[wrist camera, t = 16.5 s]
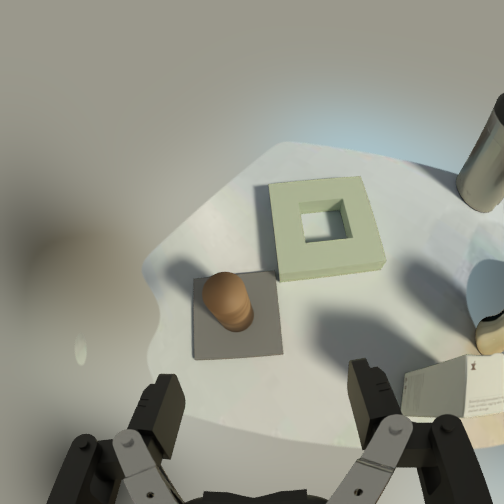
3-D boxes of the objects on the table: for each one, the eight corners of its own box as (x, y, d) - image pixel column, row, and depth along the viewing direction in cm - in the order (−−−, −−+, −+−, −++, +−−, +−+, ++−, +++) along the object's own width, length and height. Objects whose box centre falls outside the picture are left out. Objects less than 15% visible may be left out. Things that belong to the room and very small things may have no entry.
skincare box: (398, 416, 30) (457, 423, 17) (403, 370, 33) (463, 353, 19) (452, 413, 29) (522, 412, 16) (456, 370, 31) (525, 350, 18)
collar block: (357, 188, 45) (360, 176, 43) (380, 269, 39) (386, 260, 36) (269, 196, 46) (268, 184, 44) (279, 282, 40) (279, 273, 37)
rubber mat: (274, 272, 41) (274, 270, 40) (283, 354, 36) (283, 353, 35) (194, 280, 41) (193, 278, 41) (195, 360, 36) (194, 359, 36)
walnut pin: (252, 297, 39) (244, 269, 31) (255, 330, 37) (247, 311, 29) (218, 300, 39) (201, 274, 31) (220, 333, 37) (202, 315, 29)
